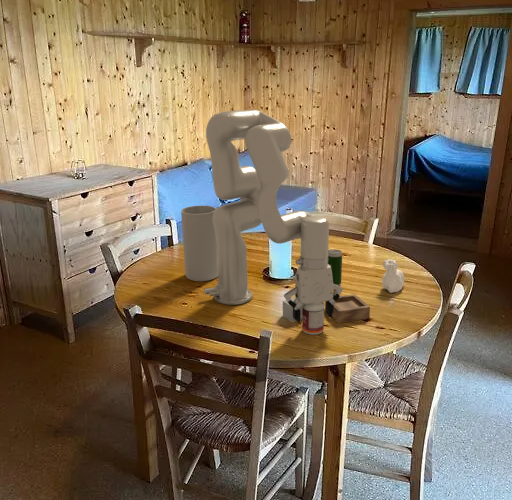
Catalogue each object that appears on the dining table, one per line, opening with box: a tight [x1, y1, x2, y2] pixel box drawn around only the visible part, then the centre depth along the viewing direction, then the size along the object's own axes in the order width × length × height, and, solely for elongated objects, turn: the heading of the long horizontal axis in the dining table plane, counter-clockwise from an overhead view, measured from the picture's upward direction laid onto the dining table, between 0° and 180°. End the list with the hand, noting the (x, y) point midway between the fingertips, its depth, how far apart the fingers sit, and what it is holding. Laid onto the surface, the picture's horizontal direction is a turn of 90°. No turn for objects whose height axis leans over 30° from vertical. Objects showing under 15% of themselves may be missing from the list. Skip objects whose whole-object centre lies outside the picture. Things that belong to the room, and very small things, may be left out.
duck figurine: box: [381, 258, 406, 294], centre depth 177 cm, size 12×8×11 cm
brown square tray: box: [324, 293, 371, 324], centre depth 159 cm, size 10×10×4 cm
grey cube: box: [282, 297, 303, 323], centre depth 158 cm, size 5×5×5 cm
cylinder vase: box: [180, 205, 218, 282], centre depth 188 cm, size 12×12×25 cm
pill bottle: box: [301, 302, 325, 336], centre depth 148 cm, size 6×6×11 cm
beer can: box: [328, 248, 343, 287], centre depth 181 cm, size 5×5×12 cm
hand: (313, 318), depth 149 cm, fingers open, 9 cm apart
